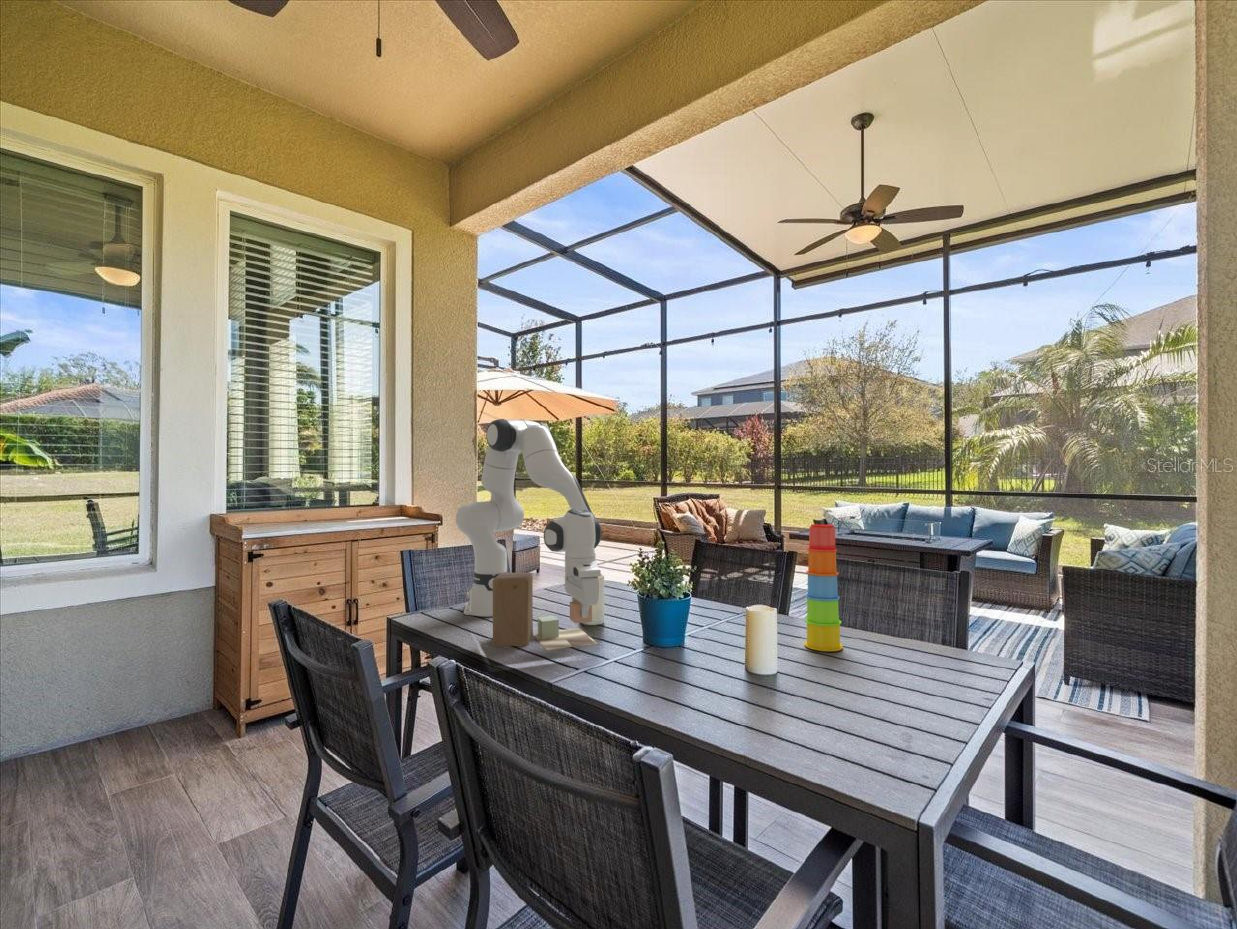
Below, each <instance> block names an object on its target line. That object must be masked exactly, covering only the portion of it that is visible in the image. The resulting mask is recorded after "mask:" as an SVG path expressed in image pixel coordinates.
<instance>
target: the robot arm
mask: <svg viewBox="0 0 1237 929" xmlns="http://www.w3.org/2000/svg"><path fill="white" fill-rule="evenodd" d="M485 432H486V435H485V438H486V442H487V444H488V446H487V448H486V452H485V458H484V462H483V468H482V474H481V479H480V482H481V485H482V487H483V488H484V490H486V491H487V492H488V493H490V499H489V500H488V501H472V502H470V503H466V504H463V505H461V506H460V507H459V508H458V509H457V511H456V513H455V524H456V525H457V528H458V530H460V532H462V534H464V535H466V536H467V538H468V539H469V541H470V543H471V545H472V548H473V552H474V554H473V555H474V572H473V577H472V578H473V581H472V582H473V585H472V587H471V588H470V590H469V591H468V592H466V600H467V602H466V603H465V606H464V610H463V615H464V614H465V616H474V617H493V580H494V578H495V577H497V576H498V575H499V574H500V573H509V571H508V550H507V549H506V546H504V545H503V544H501V543H500V542H498V541H497V540H496V537H495V533H498V532H507V531H508V532H509V531H511V530H514V529H517V528H520V526H521V525H522V524H523V522H524V519H525V511H524V508H523V506H522V505H521V504H520V502H518V500H517V498H516V497H515V491H514V486H515V478H516V471H517V464H518V460H519V455H520V453H521V454H522V459H523V463H524V466H525V467H524V468H525V470H526V474H527V476H528V478H530V480H531V481H532V482H533V483H534V484H536V485H538V486H540V487H542V488H547V489H550V490H552V491H554V492H557V493H558V494H560V495H561V496H563V497H564V499H565V500H566V501H567V503H568V506H569V509H568V510H567V511H566V512H565V514H564V515H563V516H561V517H559V518H557V519H554V520H551V521H549V522H548V523H547V524H546V526H545V528H544V530H543V542H544V544H545V546H546V547H547V549H549V550H550V551H551V552H555V553H563V552H564V591H565V593H566V594H568V595H569V596H571V602H573V601H580V602H581V606H582V609H581V611H580V613H581V614H580V616H581V617H582V618H587V617H588V610H589V607H590V606H591V605H592V606H597V604H598V603H599V599H600V579H599V577H601V573H602V572H601V568H600V566H599V565H598V562H597V561H596V559H597V558H596V555H597V554H596V552H595V551H596V550H595V549H596V548H597V547H598V546H599V544H600V543H601V541H602V538H603V528H602V526H601V524H600V522H599V520H597V518H596V516H595V515H594V514H593V511H592V510H591V507H590V505H589V502H588V500H587V498H586V496H585V495H584V492H583V490H582V488H581V485H580V484H579V481H578V480H577V477H576V476H575V475H574V473H572V472H571V471H570V470H569V469H568V468H567V467H566V466H565V464H564V462H563V461H562V459H561V457H560V455H559V451H558V449H557V445H556V442H555V441H554V438H553V436H552V433H551V430H550V427H549V426H548V425H547V424H546V423H544V422H541V421H538V420H535V421H534V420H529V419H521V418H520V419H505V418H500V419H499V418H498V419H495V420H492V421H491V422H490V424H489V425H488V426H487V429H486V431H485Z"/></svg>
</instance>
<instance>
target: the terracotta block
mask: <svg viewBox="0 0 1237 929" xmlns="http://www.w3.org/2000/svg"><path fill="white" fill-rule="evenodd" d="M581 609H582V606H581V602H580V601H573V602H572V601H569V620H570V621H571V622H573V623H574V624H581V623H590V622H592V621H593V605H591V606H590V607H589V610H588V617H587V618H582V617H581V616H580V614H581V613H580V611H581Z"/></svg>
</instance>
